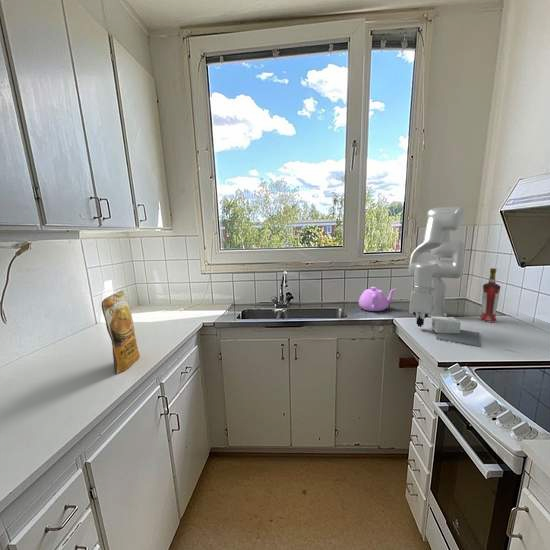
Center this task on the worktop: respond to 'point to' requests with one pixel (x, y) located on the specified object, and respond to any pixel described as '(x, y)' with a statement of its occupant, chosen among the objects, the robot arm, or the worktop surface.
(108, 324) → the pancake mix bag
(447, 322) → the small box
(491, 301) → the liquor
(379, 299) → the teapot
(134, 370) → the worktop surface
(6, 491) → the worktop surface
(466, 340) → the mat
